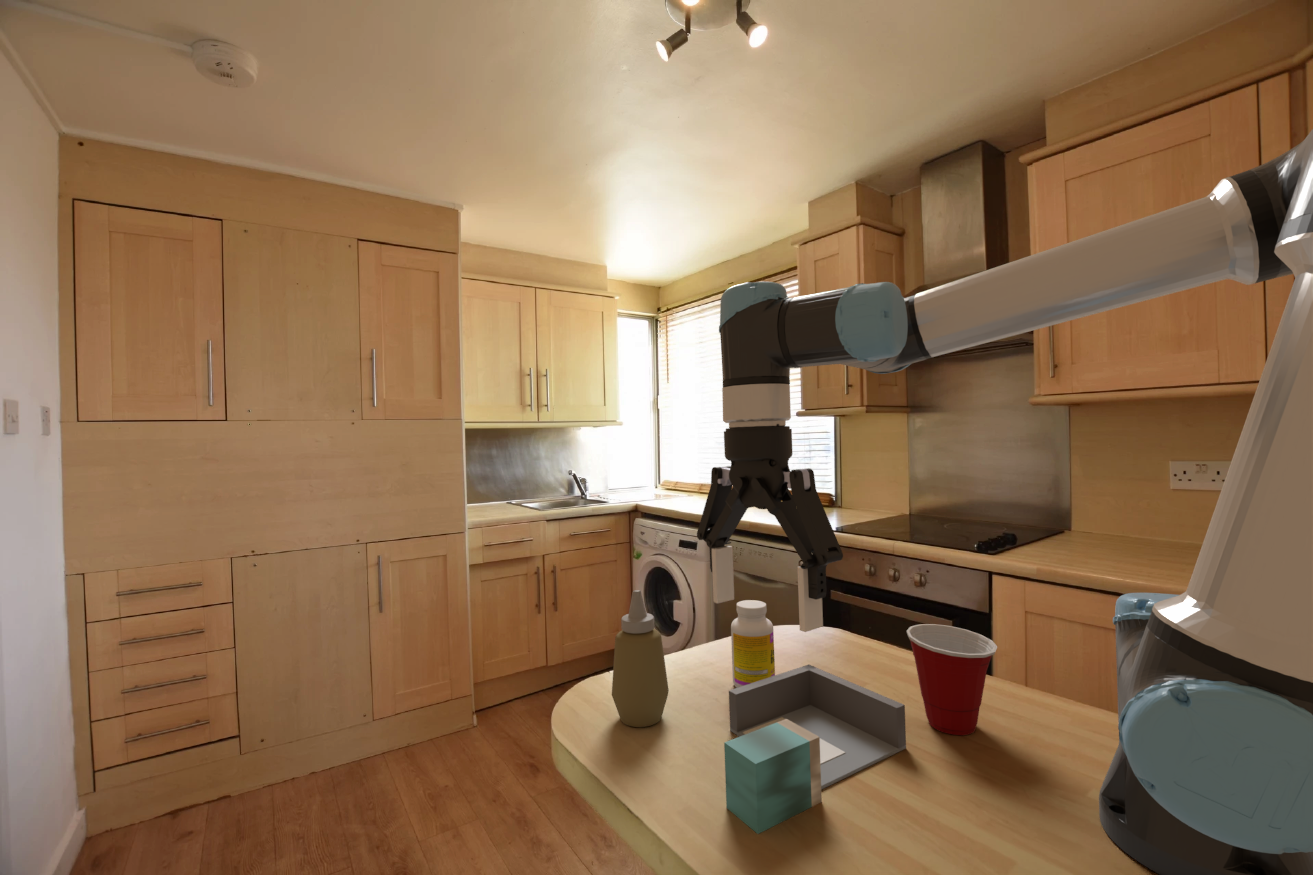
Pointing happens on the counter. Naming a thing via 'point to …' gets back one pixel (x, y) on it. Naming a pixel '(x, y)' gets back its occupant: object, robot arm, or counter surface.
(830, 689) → the corner tray
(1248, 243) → the robot arm
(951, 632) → the plastic cup
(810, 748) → the teal block
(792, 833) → the counter surface
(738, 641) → the supplement bottle
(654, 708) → the squeeze bottle
